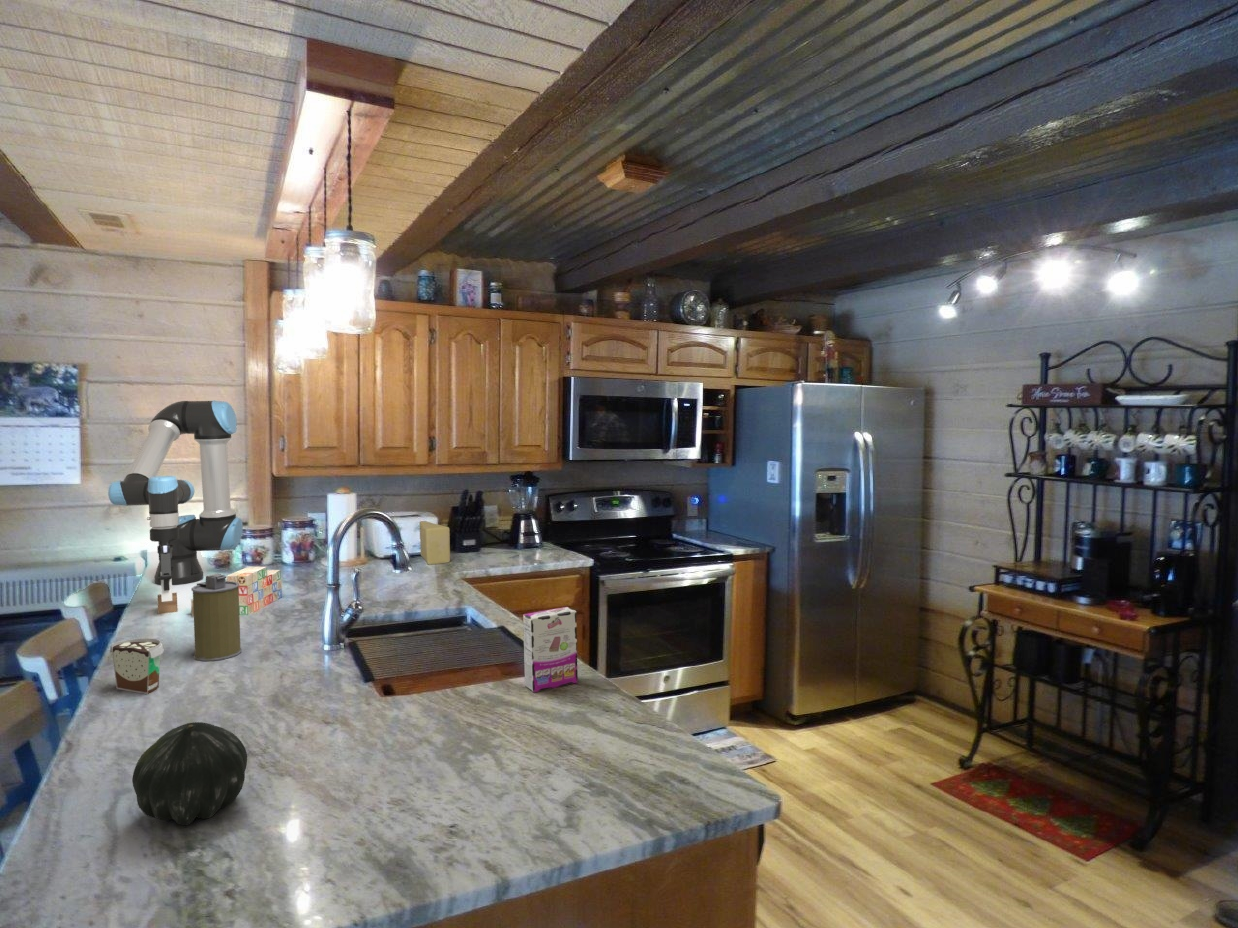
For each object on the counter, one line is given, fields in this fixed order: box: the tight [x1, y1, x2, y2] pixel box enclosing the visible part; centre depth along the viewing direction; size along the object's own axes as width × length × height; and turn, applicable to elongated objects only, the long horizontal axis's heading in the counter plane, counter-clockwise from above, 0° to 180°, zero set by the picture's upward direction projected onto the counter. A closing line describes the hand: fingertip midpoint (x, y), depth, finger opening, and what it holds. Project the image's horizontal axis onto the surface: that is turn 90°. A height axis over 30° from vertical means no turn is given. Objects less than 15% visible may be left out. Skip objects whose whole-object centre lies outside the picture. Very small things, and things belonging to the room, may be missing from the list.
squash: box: [131, 721, 248, 826], centre depth 110 cm, size 14×15×15 cm
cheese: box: [419, 520, 451, 566], centre depth 301 cm, size 22×10×15 cm, turn 32°
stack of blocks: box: [226, 566, 283, 616], centre depth 228 cm, size 21×6×12 cm, turn 179°
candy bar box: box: [522, 606, 579, 693], centre depth 161 cm, size 11×5×16 cm, turn 122°
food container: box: [109, 637, 165, 695], centre depth 160 cm, size 12×6×10 cm, turn 71°
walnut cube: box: [157, 591, 179, 615], centre depth 222 cm, size 5×5×5 cm
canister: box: [190, 573, 243, 662], centre depth 181 cm, size 11×10×20 cm
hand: (166, 596), depth 222 cm, fingers open, 13 cm apart
